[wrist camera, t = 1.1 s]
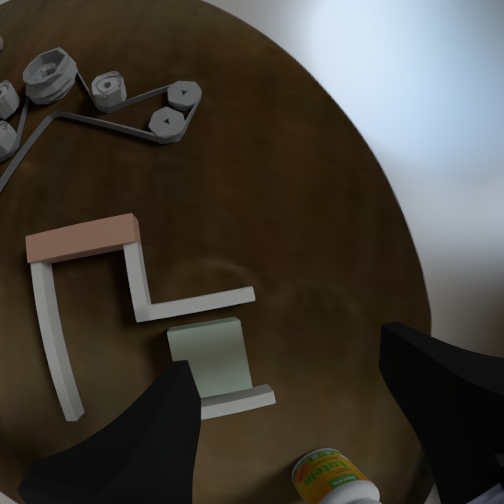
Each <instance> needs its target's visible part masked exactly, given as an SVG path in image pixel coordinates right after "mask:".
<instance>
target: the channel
mask: <svg viewBox="0 0 504 504" xmlns="http://www.w3.org/2000/svg"><path fill="white" fill-rule="evenodd" d="M123 246H124V253H125V260H126V267H127V273H128V279H129V285H130V291H131V296H132V302H133V307H134V312H135V317H136V322H142V321H148V320H154V319H160V318H166V317H172V316H178V315H183V314H189V313H194V312H199V311H205V310H210V309H215V308H220V307H226V306H231V305H236V304H241V303H245V302H250V301H255V296H254V291H253V287H244V288H239V289H234V290H229V291H224V292H218V293H213V294H208V295H202V296H197V297H192V298H186V299H181V300H175V301H169V302H164V303H158V304H152V305H151V301H150V295H149V290H148V284H147V279H146V273H145V267H144V260H143V254H142V247H141V245H139V244H138V243H137V242H135V243H129V244H124V245H123ZM31 272H32V281H33V289H34V296H35V302H36V308H37V314H38V320H39V325H40V330H41V335H42V339H43V344H44V348H45V352H46V356H47V360H48V364H49V368H50V371H51V375H52V378H53V382H54V385H55V388H56V392H57V395H58V398H59V401H60V404H61V407H62V410H63V413H64V415H65V418H66V421H77V420H78V419H79V418H80V417H81V416H82V415H83V413H84V409H83V406H82V403H81V400H80V397H79V394H78V390H77V387H76V384H75V380H74V377H73V373H72V370H71V366H70V362H69V358H68V354H67V350H66V346H65V342H64V337H63V333H62V328H61V323H60V318H59V312H58V307H57V301H56V295H55V288H54V281H53V273H52V264H51V263H47V262H42V261H39V262H34V263H31ZM274 403H276V402H275V397H274V392H273V390H272V389H271V388H270V387H269V385H268V384H264V385H260V386H256V387H252V388H250V389H246V390H241V391H236V392H231V393H226V394H221V395H216V396H211V397H205V398H201V420H202V419H208V418H213V417H218V416H223V415H228V414H233V413H237V412H242V411H246V410H250V409H254V408H258V407H262V406H266V405H270V404H274Z"/></svg>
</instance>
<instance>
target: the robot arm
mask: <svg viewBox="0 0 504 504" xmlns="http://www.w3.org/2000/svg"><path fill="white" fill-rule="evenodd" d="M379 369H380V372H381V374H382V376H383V379H384V381H385V383H386V385H387V387H388V389H389V391H390V392H391V394H392V396H393V397H394V399H395V400H396V402H397V403H398V405H399V407H400V408H401V410H402V411H403V413H404V414H405V416H406V418H407V419H408V421H409V422H410V424H411V426H412V427H413V429H414V431H415V433H416V435H417V437H418V439H419V441H420V443H421V446H422V448H423V450H424V453H425V455H426V458H427V460H428V463H429V466H430V468H431V471H432V474H433V477H434V480H435V483H436V486H437V490H438V493H439V497H440V501H441V504H504V358H500V357H494V356H488V355H484V354H480V353H476V352H472V351H468V350H465V349H461V348H459V347H456V346H453V345H451V344H448V343H445V342H443V341H440V340H438V339H436V338H433V337H431V336H429V335H426V334H424V333H422V332H420V331H418V330H415V329H413V328H411V327H409V326H406V325H404V324H401V323H399V322H396V321H395V322H391V323H387V324H383V325H381V341H380V358H379ZM200 426H201V398H200V395H199V392H198V389H197V386H196V383H195V380H194V377H193V375H192V372H191V369H190V365H189V362H188V360H180V361H172V362H171V363H170V364H169V365H168V366H167V367H166V368H165V369H164V370H163V372H162V373H161V374H160V375H159V376H158V377H157V379H156V380H155V381H154V382H153V383H152V384H151V385H150V386H149V387H148V389H147V390H146V391H145V392H144V393H143V394H142V395H141V396H140V397H139V398H138V399H137V400H136V401H135V402H134V403H133V404H132V405H131V406H130V407H129V408H128V409H127V410H126V411H124V412H123V413H122V414H121V415H120V416H119V417H117V418H116V419H115V420H114V421H112V422H111V423H110V424H109V425H107V426H106V427H104V428H103V429H102V430H100V431H98V432H97V433H95V434H94V435H92V436H91V437H89V438H87V439H86V440H84V441H82V442H81V443H79V444H77V445H75V446H73V447H71V448H69V449H67V450H65V451H62V452H60V453H58V454H55V455H53V456H50V457H47V458H44V459H41V460H38V461H35V462H32V463H31V465H30V467H29V469H28V471H27V472H26V474H25V476H24V478H23V480H22V482H21V484H20V486H19V488H18V492H19V495H20V496H21V498H22V499H23V500H24V502H25V503H26V504H192V481H193V470H194V463H195V457H196V451H197V445H198V439H199V432H200Z"/></svg>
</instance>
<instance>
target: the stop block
mask: <svg viewBox="0 0 504 504" xmlns="http://www.w3.org/2000/svg"><path fill="white" fill-rule="evenodd" d="M135 242H137V243H138V244H139V245H141V240H140V233H139V225H138V220H137V219H136V218H135V216H134V215H133V214H132V213H130V214H125V215H120V216H114V217H110V218H105V219H100V220H95V221H90V222H86V223H81V224H77V225H72V226H68V227H63V228H59V229H55V230H50V231H46V232H42V233H38V234H34V235H30V236H26V250H27V262H28V263H34V262H39V261H42V262H47V263H56V262H61V261H66V260H71V259H76V258H81V257H86V256H91V255H97V254H102V253H107V252H112V251H117V250H123V249H124V246H123V245H124V244H129V243H135Z"/></svg>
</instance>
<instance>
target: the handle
mask: <svg viewBox="0 0 504 504" xmlns="http://www.w3.org/2000/svg"><path fill="white" fill-rule="evenodd" d="M3 45H4V42H3V40H2V38H0V52H1V51H2V49H3Z"/></svg>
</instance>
